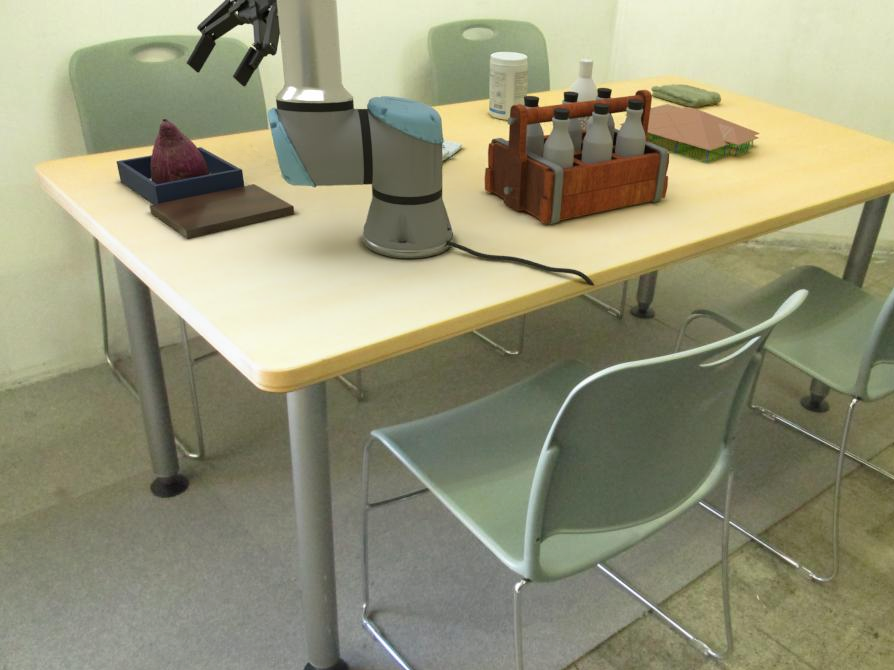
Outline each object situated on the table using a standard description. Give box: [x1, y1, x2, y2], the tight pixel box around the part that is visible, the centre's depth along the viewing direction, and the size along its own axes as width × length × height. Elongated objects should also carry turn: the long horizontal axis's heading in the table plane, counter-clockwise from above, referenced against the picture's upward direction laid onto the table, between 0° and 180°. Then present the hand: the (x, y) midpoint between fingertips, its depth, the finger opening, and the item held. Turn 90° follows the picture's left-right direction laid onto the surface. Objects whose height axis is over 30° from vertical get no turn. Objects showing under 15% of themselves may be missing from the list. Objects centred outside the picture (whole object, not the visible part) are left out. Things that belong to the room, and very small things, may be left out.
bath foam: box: [569, 58, 598, 130], centre depth 191 cm, size 7×7×20 cm
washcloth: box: [650, 84, 722, 108], centre depth 244 cm, size 13×18×3 cm
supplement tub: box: [488, 51, 529, 121], centre depth 214 cm, size 10×10×15 cm
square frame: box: [116, 146, 245, 205], centre depth 160 cm, size 17×17×4 cm
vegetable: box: [150, 117, 210, 184], centre depth 157 cm, size 10×10×15 cm
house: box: [619, 103, 760, 164], centre depth 207 cm, size 23×33×8 cm
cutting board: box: [149, 183, 295, 239], centre depth 151 cm, size 14×20×2 cm
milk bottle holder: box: [484, 87, 670, 225], centre depth 165 cm, size 21×35×19 cm, turn 126°
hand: (215, 74), depth 158 cm, fingers open, 13 cm apart
